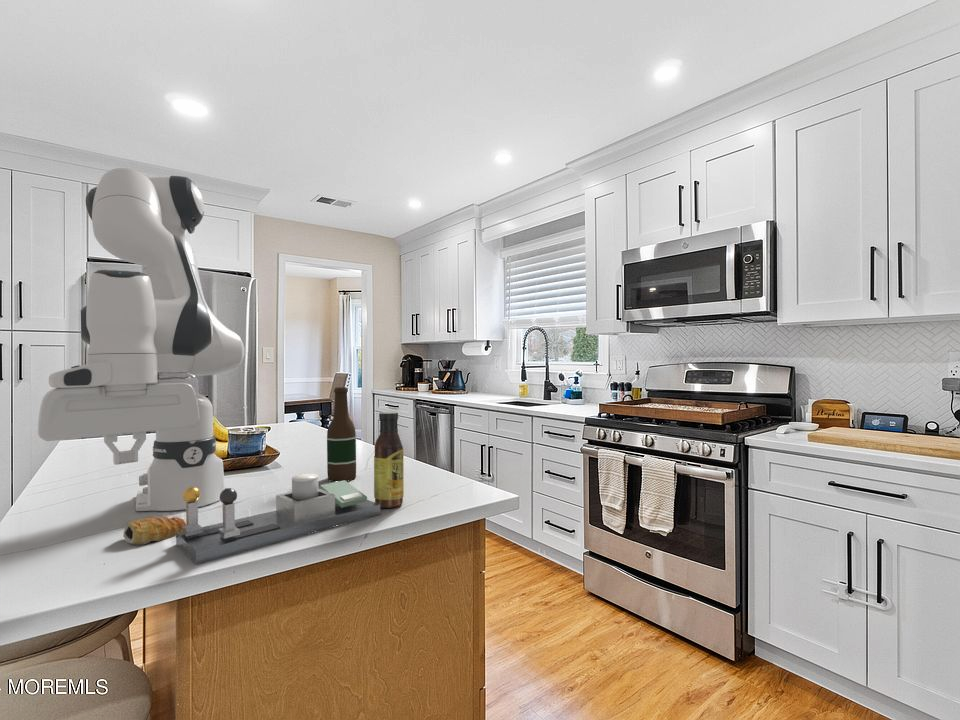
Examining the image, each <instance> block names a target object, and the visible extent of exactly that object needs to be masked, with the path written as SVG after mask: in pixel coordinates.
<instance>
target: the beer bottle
mask: <svg viewBox="0 0 960 720" xmlns="http://www.w3.org/2000/svg"><path fill="white" fill-rule="evenodd" d="M333 392H334V410H333V418H332V420H331V421H330V423H329V425H328V428H327V431H326V451H327V452H326V460H327V462H326V463H327V464H326V466H327V467H326V468H327V471H326V472H327V479H328V481H329V480H331V481H330V482H334V481H343V480H345V481H347V482H349V481H351V480H352V479H353V480H355V479H356V477H357V440H356V439H357V434H356V426H355V424H354V421H352V418H350V414H349V404H348V403H349V402H348V392H349V390H348V387H347V386H338V387H334V389H333ZM348 480H349V481H348Z"/></svg>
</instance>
